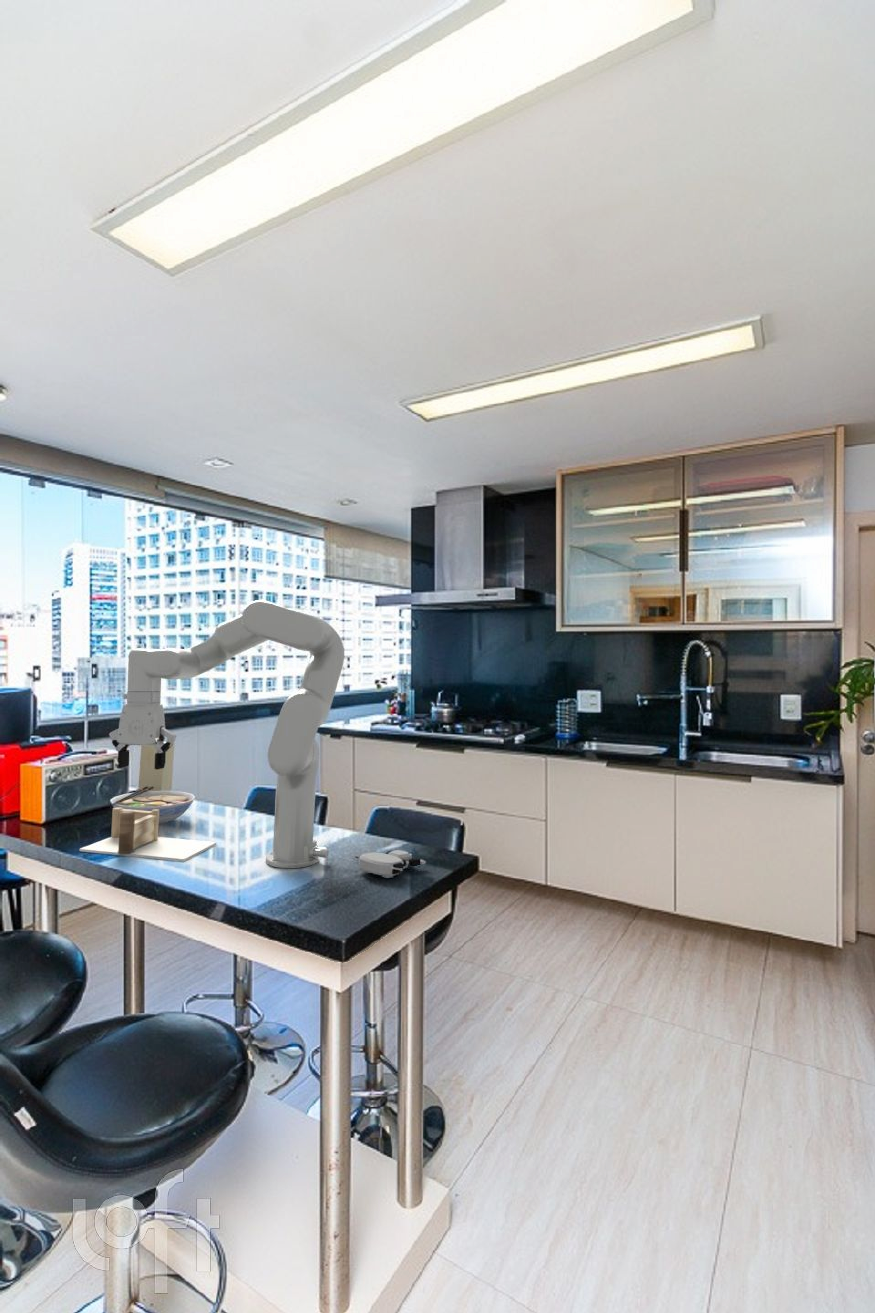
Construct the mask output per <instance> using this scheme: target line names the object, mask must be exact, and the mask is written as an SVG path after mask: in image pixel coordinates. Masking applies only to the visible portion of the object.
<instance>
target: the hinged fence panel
mask: <svg viewBox="0 0 875 1313" xmlns="http://www.w3.org/2000/svg"><path fill="white" fill-rule="evenodd" d="M155 819H156V815H148V816H145V817H143V818H140V819H138V820H135V811H123V812H121V813H120V830H119V848H118V853H121V854H126V853H131V852H133V849H135V848H137V847H140V846H142V845H144V844H146V843H148V842H150V841H152V840H153V839H154V820H155Z"/></svg>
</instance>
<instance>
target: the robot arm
mask: <svg viewBox="0 0 875 1313" xmlns="http://www.w3.org/2000/svg"><path fill="white" fill-rule="evenodd" d="M267 641H271V642H274V643H278V644H281V645H284V646H287V647H290V648H293V649H295V650H296V649H297V650H299V651H304V652H309V654H310V657H309V661H308V663H307V666H306V668H305V670H304V673H303V677H302V681H301V683H300V686H299V689H298V691H296V692H294V693H292V694H291V695H290V696H288V697H287V699H286V700H285V702H284V703H283V704H282V707H281V709H280V712H279V715H278V718H277V722H276V724H275V727H274V730H273V733H272V735H271V739H270V743H269V745H268V748H267V762H268V764H269V768H270V769H271V770H272V771H273V772H274V773H275V774H277V777H276V785H275V786H276V787H275V797H274V798H275V800H274V801H275V802H274V804H275V805H274V821H273V822H274V823H273V824H274V825H273V842H272V844H273V846H272V852H270V853H267V855H266V857H265V863H267V865H269V866H271V867H275V868H279V869H280V868H281V869H297V868H299V869H300V868H306V867H310V866H313V865H315V864H316V863H317V862H319V860H320V859H319V858H323V859H324V858H325V859H327V858H328V857H329V849H328V848H327V847H325V846H324V847H323V846H321V847H319V846H318V845H317V843H318V842H317V840H314V829H315V828H314V826H315V824H314V823H315V803H316V789H317V774H318V767H319V759H320V748H319V744H318V742H317V739H316V736H317V733H318V730H319V727H320V726H323V724H325V722H326V721H327V720H328V717H329V714H330V710H331V708H332V704H333V700H334V697H335V693H336V692H337V686H338V683H339V679H340V677H341V674H342V670H343V666H344V662H345V648H344V643H343V641H342V638H341V637H340V635H339V633H338V632H337V631H336V630H335V628H334V627H333V626H332V625H330V624H329V622H327V621H325V620H323V619H321V618H318V617H316V616H313V615H310V614H308V613H304V612H301V611H297V610H295V609H292V608H288V607H284V606H281V605H280V604H279V605H278V604H275V603H274V602H271V601H268V600H264V599H259V600H254V601H251V602H249V603H248V604H247V605H246V606H245V607H244V608H243V610H242V613H241V614H239V615H237V616H235V617H233V618H230V619H228V620H226V621H224V622H222V623H220V624H218V625H216V627H215V631H214V633H213V634H212V635H211V636H210V637H209V638H207V639H206V640H204V641H202V642H200V643H198V644H196V645H194V646H191V647H189V648H187V649H182V648H164V649H150V648H136V649H135V648H134V649H131V650H130V652H129V653H128V661H127V662H128V663H127V664H128V665H127V666H128V669H127V690H126V693H124V694H123V695H122V697H123V699H125V700H126V703H123V706H122V708H121V712H120V717H119V723H118V728H116V729H115V730H112V731H111V732H109V733H108V735H109V738H110V740H111V743H112V745H113V746H114V748H115V751H116V752H117V767H118V768H126V767H129V765H130V750H129V749H128V748H129V747H130V746H141V745H145V746H149V745H153V746H154V748H155V749H156V751H157V753H155V769H156V770H158V769H162V768H164V765H165V759H166V752H167V751H168V749H169V748H170V747H171V746H172V745H173V742H174V743H175V741H176V738H177V735H176V734H175V733H173V732H172V731H170V730H168V729H166V721H165V720H166V719H165V711H164V707H163V704H161V698H162V696H161V694H162V679H164V680H189V679H193V678H195V677H197V676H200V675H202V674H204V673H206V672H208V671H211V670H213V669H215V668H217V667H219V666H221V665H222V664H224V663H226V662H227V661H229V660H231V659H232V658H234V657H235V656H237V655H239V654H241V653H243V652H245V651H247V650H250V649H252V648H254V647H256V646H258V645H260V644H262V643H265V642H267ZM165 738H166V741H165ZM164 742H166V743H165V744H164Z"/></svg>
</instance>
